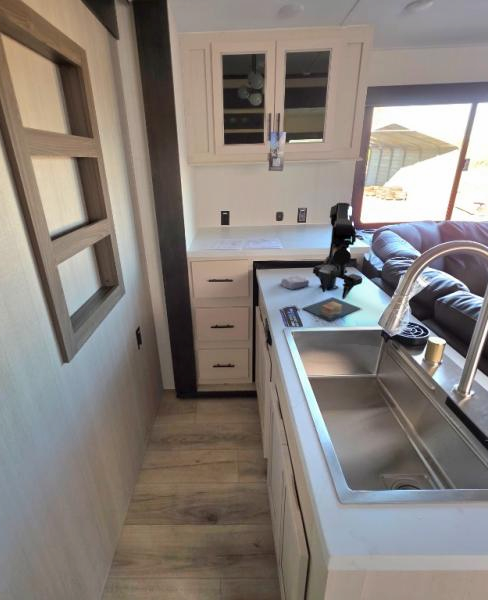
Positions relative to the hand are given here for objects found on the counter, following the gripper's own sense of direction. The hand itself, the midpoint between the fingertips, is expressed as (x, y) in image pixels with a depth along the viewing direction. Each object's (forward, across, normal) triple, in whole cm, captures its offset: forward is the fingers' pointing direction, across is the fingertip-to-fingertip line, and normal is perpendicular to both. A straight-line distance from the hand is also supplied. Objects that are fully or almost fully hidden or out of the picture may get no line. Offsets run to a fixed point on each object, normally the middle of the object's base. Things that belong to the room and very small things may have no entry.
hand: (333, 295), depth 124 cm
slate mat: (+9, -3, +5) cm, 11 cm away
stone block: (+9, -32, +13) cm, 36 cm away
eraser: (+8, 0, 0) cm, 8 cm away
